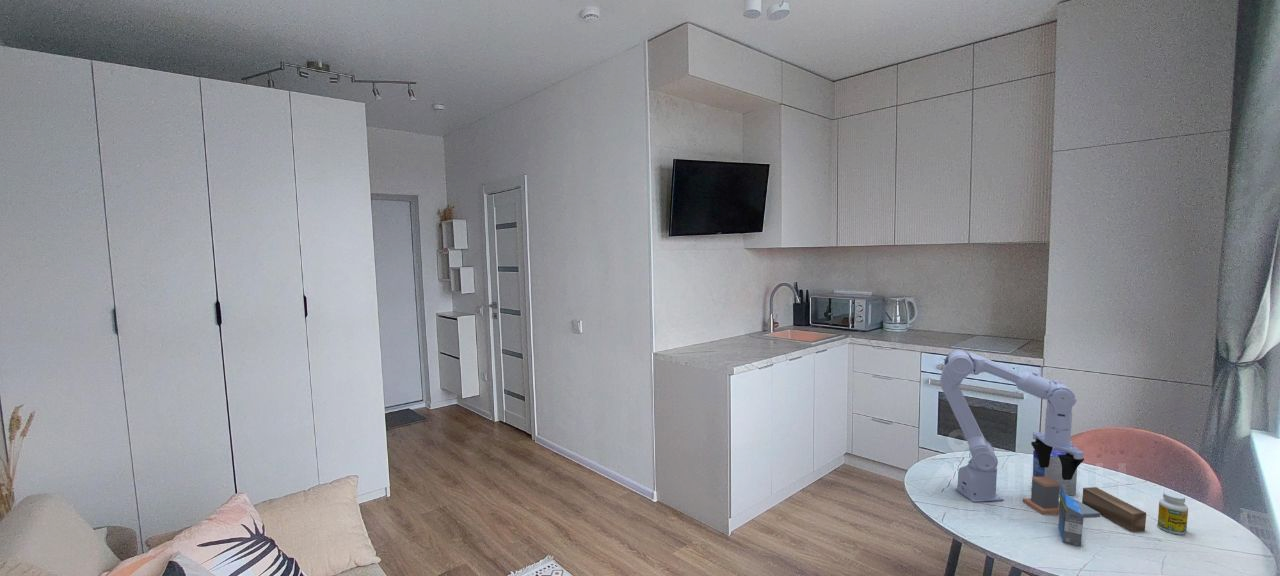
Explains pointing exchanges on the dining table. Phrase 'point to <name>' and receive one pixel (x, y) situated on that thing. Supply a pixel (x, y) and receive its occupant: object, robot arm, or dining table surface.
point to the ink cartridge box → (1055, 471)
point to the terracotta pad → (1040, 509)
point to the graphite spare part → (1045, 492)
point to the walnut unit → (1114, 509)
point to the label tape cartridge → (1070, 519)
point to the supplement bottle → (1173, 513)
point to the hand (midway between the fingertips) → (1055, 473)
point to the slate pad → (1087, 510)
